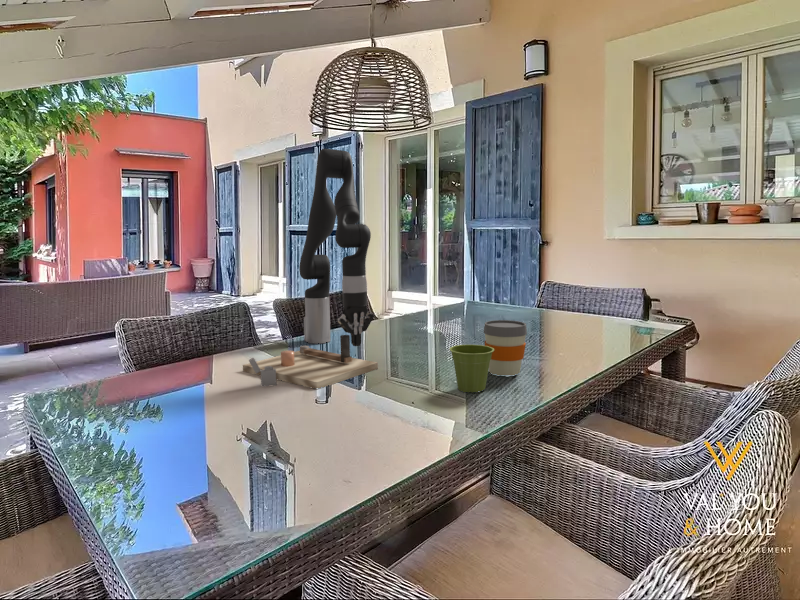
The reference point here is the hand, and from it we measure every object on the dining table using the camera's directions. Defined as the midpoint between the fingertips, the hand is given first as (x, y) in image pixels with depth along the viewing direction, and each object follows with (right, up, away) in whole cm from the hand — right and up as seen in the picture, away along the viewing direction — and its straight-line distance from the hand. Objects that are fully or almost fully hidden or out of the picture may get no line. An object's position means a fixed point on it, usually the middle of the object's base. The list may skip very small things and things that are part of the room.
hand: (356, 345), depth 166 cm
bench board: (-14, -7, -1) cm, 16 cm away
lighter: (-25, -10, -17) cm, 31 cm away
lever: (-10, -4, +4) cm, 12 cm away
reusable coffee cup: (+45, -8, -6) cm, 46 cm away
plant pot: (+33, -10, -22) cm, 41 cm away
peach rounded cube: (-21, -6, -2) cm, 22 cm away
